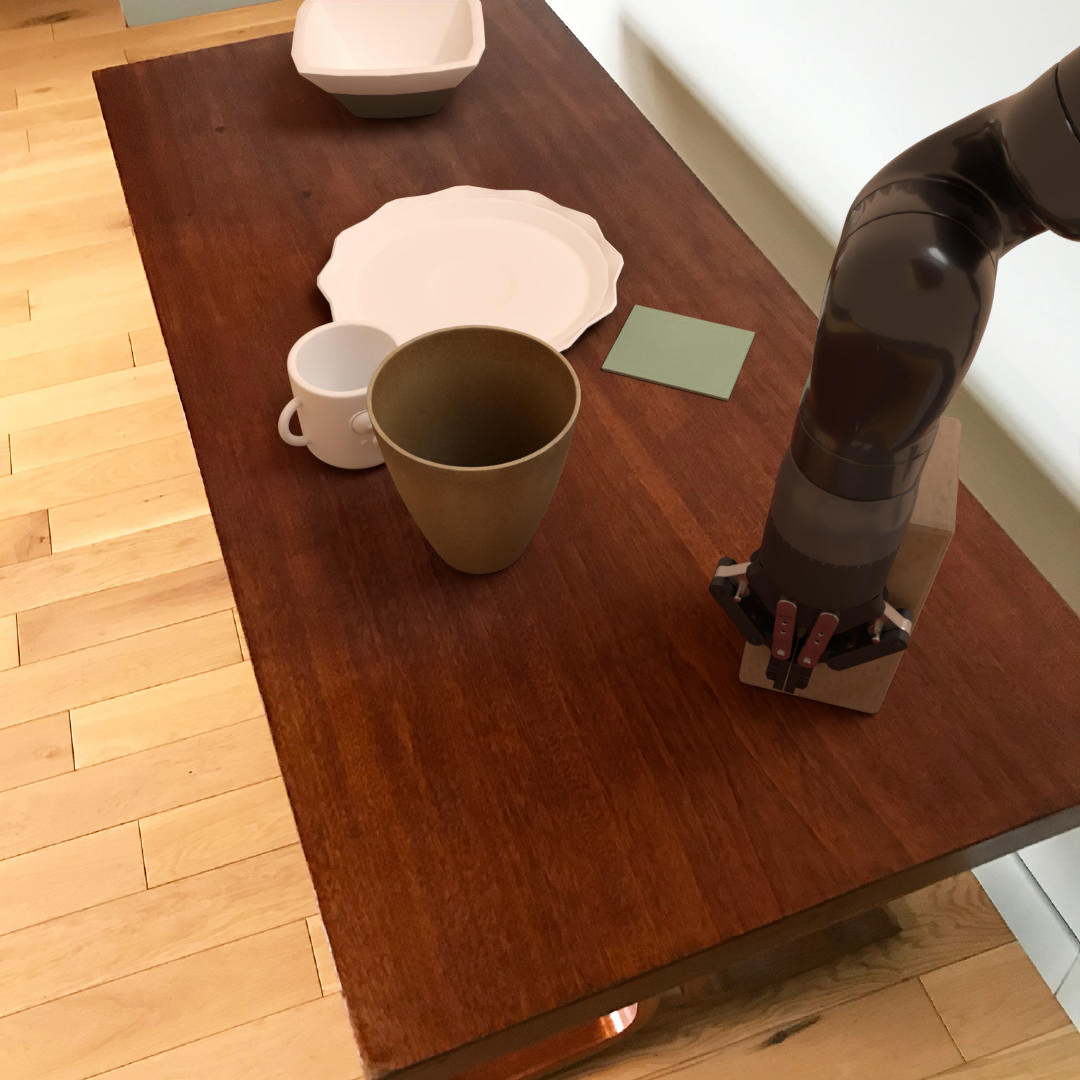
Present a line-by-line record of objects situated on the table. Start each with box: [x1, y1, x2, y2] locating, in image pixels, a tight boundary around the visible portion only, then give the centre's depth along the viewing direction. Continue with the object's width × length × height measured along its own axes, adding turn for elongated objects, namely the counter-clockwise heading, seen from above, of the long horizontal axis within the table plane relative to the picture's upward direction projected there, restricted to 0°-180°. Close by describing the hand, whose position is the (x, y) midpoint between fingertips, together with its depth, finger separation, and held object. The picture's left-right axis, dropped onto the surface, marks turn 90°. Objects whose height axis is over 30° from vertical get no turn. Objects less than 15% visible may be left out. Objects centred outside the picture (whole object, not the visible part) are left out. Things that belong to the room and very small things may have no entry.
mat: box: [601, 304, 756, 402], centre depth 104 cm, size 12×10×1 cm
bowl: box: [290, 0, 486, 119], centre depth 133 cm, size 22×23×8 cm
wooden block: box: [738, 414, 963, 715], centre depth 75 cm, size 10×10×20 cm
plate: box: [316, 185, 625, 354], centre depth 110 cm, size 29×29×2 cm
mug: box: [277, 320, 403, 470], centre depth 93 cm, size 12×10×9 cm
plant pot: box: [366, 325, 582, 575], centre depth 83 cm, size 15×15×16 cm
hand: (786, 681), depth 76 cm, fingers closed
